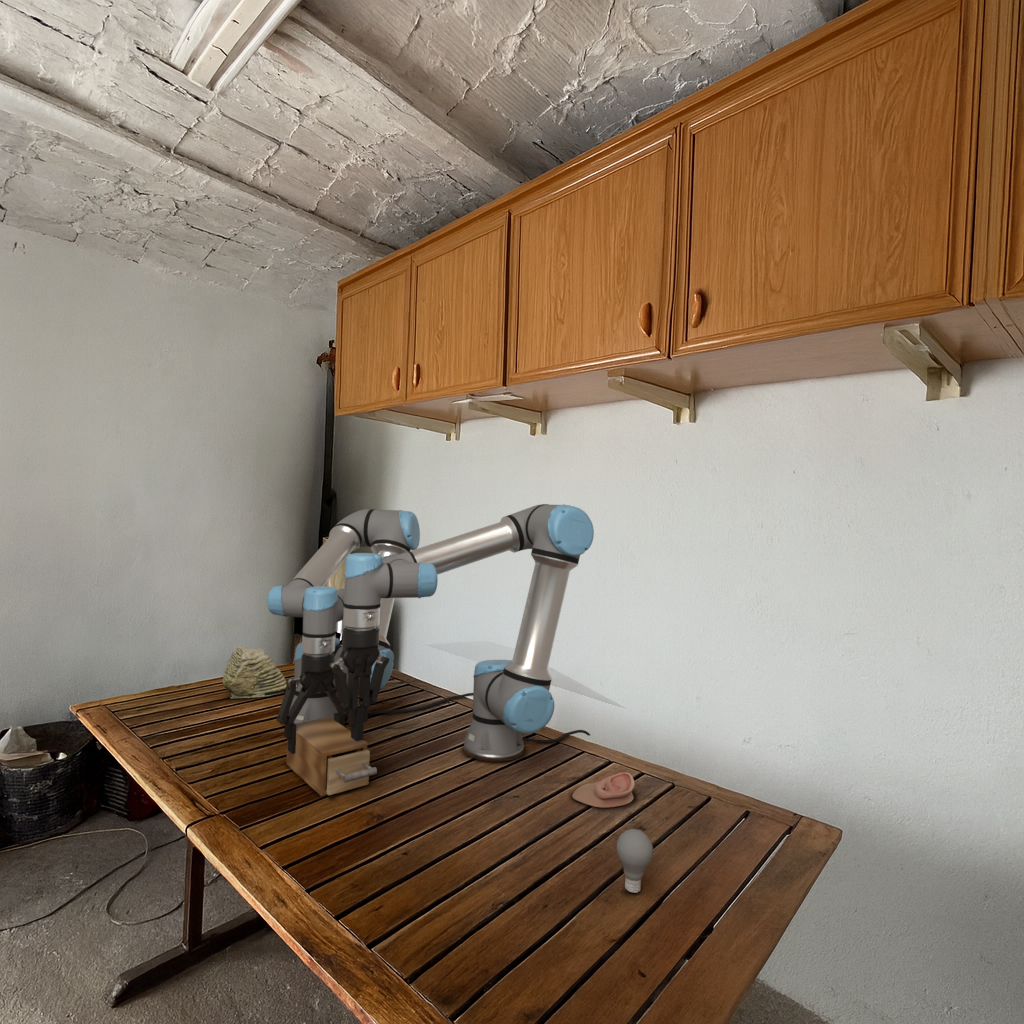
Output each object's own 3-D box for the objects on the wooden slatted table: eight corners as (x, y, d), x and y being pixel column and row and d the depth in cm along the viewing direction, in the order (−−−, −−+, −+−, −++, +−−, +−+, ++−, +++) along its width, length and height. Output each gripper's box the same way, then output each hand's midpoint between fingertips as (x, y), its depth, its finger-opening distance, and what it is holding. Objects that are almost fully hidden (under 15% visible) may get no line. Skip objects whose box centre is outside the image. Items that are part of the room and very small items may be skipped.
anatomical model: (571, 785, 135) (576, 763, 146) (570, 803, 135) (575, 781, 146) (634, 793, 132) (635, 771, 144) (633, 812, 132) (634, 788, 144)
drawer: (380, 793, 134) (382, 759, 134) (340, 805, 128) (341, 770, 128) (332, 755, 152) (333, 725, 152) (295, 764, 146) (296, 733, 146)
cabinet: (365, 784, 141) (367, 742, 140) (321, 796, 134) (322, 753, 134) (328, 754, 156) (329, 716, 155) (286, 764, 149) (287, 725, 149)
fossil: (218, 695, 195) (220, 647, 195) (278, 685, 208) (279, 640, 207) (228, 703, 189) (230, 653, 188) (289, 692, 201) (290, 645, 201)
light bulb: (610, 879, 108) (613, 822, 108) (644, 879, 109) (647, 822, 109) (619, 902, 102) (622, 840, 102) (655, 901, 103) (658, 840, 103)
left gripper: (275, 662, 139) (271, 763, 139) (370, 650, 153) (366, 741, 154) (263, 655, 144) (259, 751, 145) (356, 644, 159) (352, 731, 160)
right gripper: (340, 633, 126) (335, 751, 126) (397, 627, 134) (393, 737, 135) (324, 626, 131) (319, 739, 132) (380, 621, 140) (376, 727, 140)
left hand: (314, 746), depth 149 cm, fingers closed on cabinet, 10 cm apart
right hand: (356, 738), depth 133 cm, fingers closed
